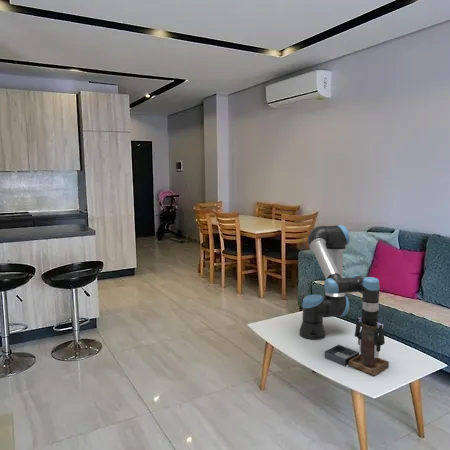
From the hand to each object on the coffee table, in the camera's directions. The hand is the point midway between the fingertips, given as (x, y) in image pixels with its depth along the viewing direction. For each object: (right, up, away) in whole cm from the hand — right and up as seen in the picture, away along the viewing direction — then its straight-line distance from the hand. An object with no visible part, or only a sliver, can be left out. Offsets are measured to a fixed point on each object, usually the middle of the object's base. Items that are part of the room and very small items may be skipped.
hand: (368, 354), depth 196 cm
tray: (0, -7, +1) cm, 7 cm away
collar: (-10, -5, +10) cm, 16 cm away
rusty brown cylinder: (0, -4, +1) cm, 4 cm away
